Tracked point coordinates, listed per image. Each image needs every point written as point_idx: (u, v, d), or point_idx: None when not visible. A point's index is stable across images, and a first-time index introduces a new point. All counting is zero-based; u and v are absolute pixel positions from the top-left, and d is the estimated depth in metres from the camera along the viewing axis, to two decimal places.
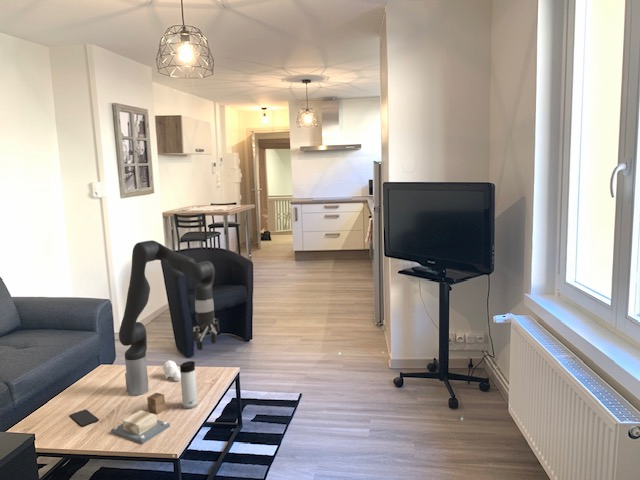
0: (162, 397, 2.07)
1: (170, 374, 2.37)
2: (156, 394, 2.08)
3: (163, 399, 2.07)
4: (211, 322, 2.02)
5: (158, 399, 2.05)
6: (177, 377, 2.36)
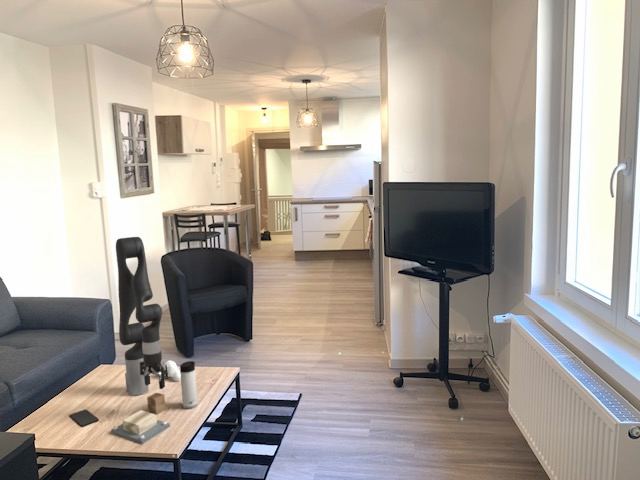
0: (162, 397, 2.07)
1: (170, 374, 2.37)
2: (156, 394, 2.08)
3: (163, 399, 2.07)
4: None
5: (158, 399, 2.05)
6: (177, 377, 2.36)
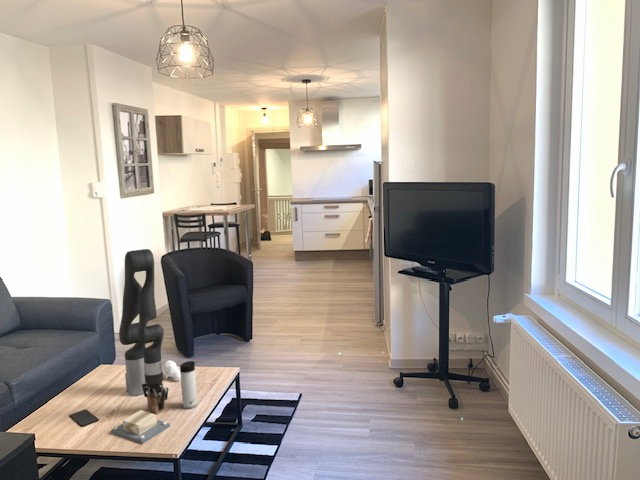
0: None
1: (170, 374, 2.37)
2: None
3: None
4: None
5: None
6: (177, 377, 2.36)
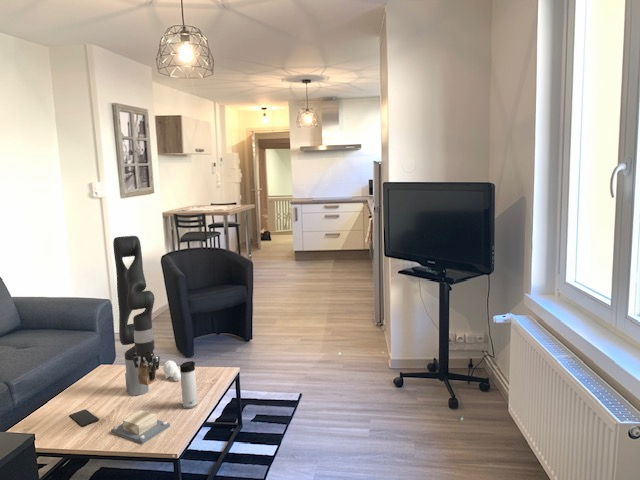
0: None
1: (170, 374, 2.37)
2: None
3: None
4: None
5: None
6: (177, 377, 2.36)
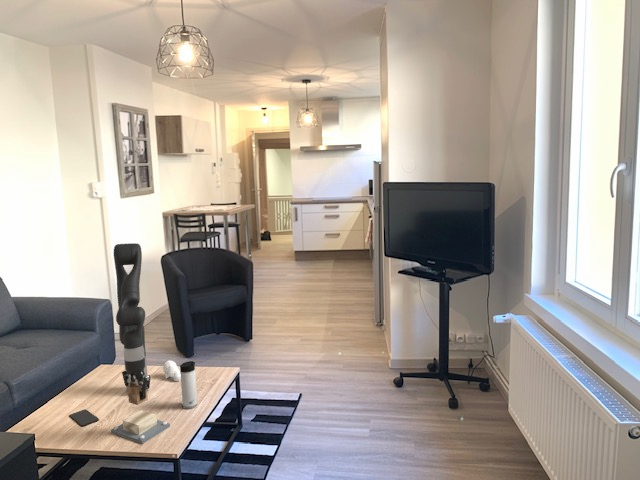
0: None
1: (170, 374, 2.37)
2: None
3: None
4: None
5: None
6: (177, 377, 2.36)
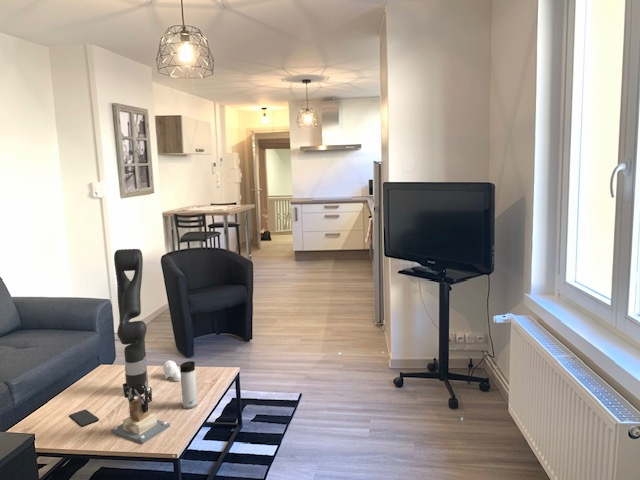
0: None
1: (170, 374, 2.37)
2: None
3: None
4: None
5: (141, 404, 1.89)
6: (177, 377, 2.36)
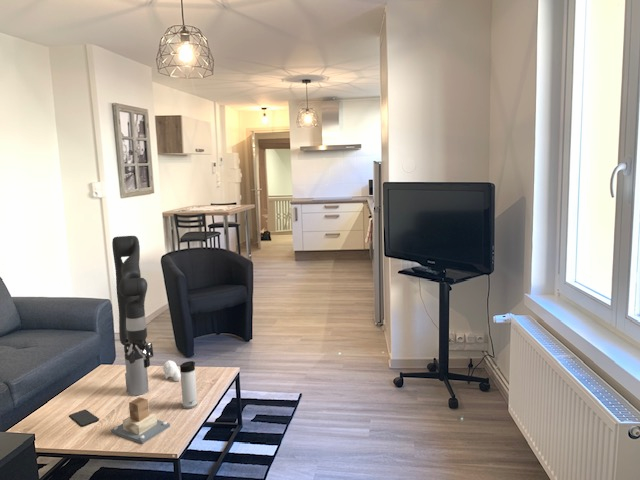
0: (145, 402, 1.91)
1: (170, 374, 2.37)
2: (139, 399, 1.92)
3: (146, 404, 1.92)
4: None
5: (141, 404, 1.89)
6: (177, 377, 2.36)
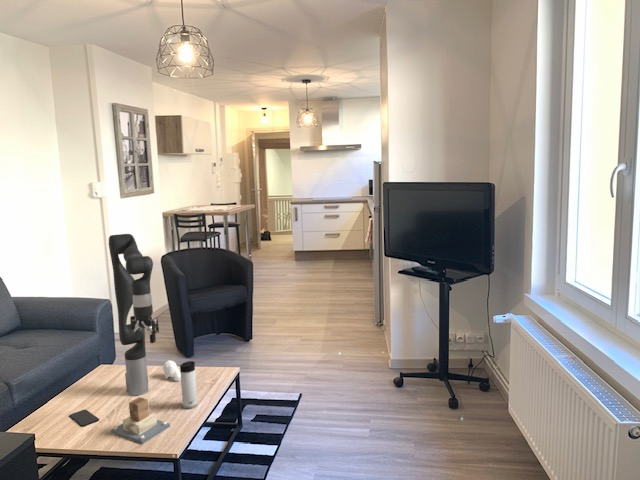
0: (145, 402, 1.91)
1: (170, 374, 2.37)
2: (139, 399, 1.92)
3: (146, 404, 1.92)
4: None
5: (141, 404, 1.89)
6: (177, 377, 2.36)
